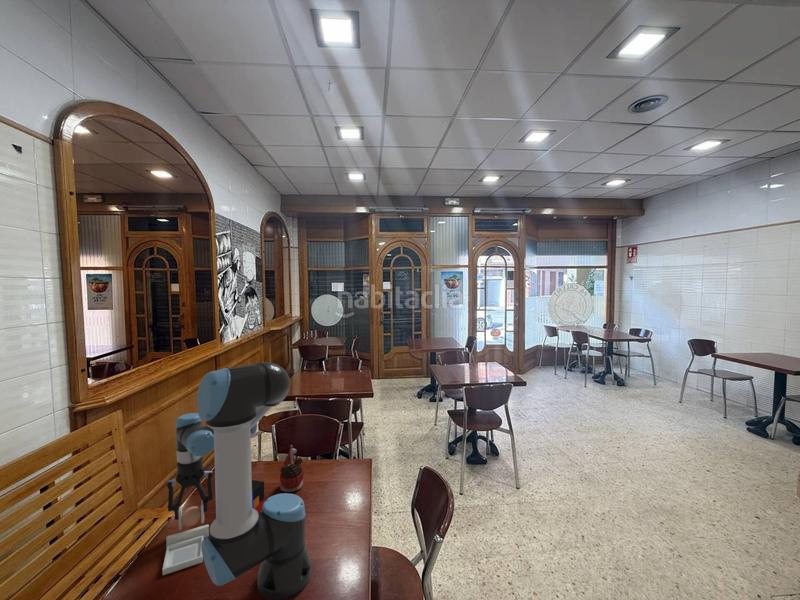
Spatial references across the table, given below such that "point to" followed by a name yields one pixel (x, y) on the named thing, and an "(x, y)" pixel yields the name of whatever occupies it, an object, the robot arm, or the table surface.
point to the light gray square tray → (183, 555)
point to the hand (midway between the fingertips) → (191, 523)
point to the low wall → (187, 535)
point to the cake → (291, 473)
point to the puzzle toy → (257, 495)
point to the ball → (191, 516)
